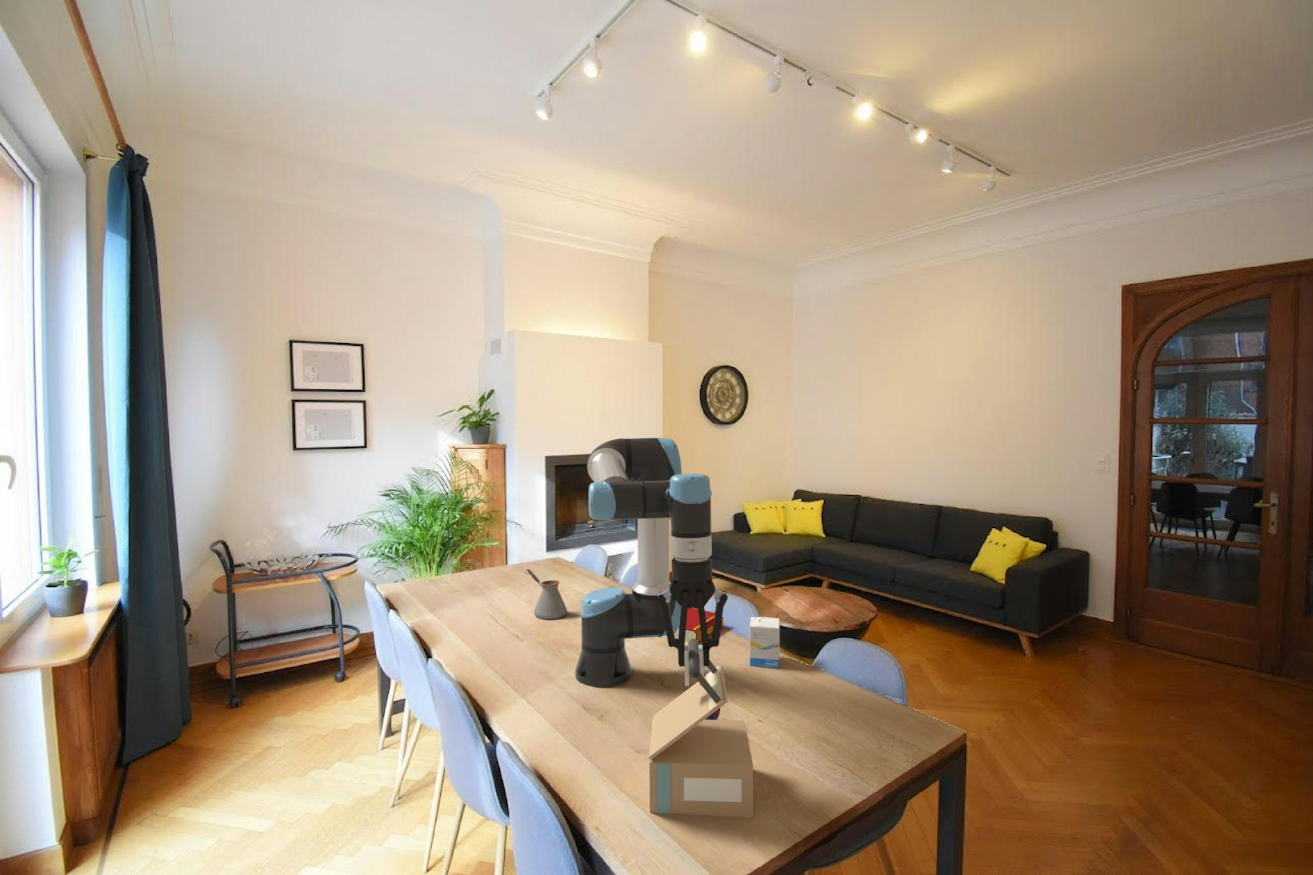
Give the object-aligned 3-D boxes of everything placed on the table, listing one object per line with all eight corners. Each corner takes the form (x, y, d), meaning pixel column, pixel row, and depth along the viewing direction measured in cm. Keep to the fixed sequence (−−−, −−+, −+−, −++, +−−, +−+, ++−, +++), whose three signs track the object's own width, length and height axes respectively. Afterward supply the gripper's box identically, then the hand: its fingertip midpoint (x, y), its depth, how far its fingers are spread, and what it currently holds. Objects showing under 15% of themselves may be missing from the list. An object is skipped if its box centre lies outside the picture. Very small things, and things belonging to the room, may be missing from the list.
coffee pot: (573, 618, 205) (573, 576, 205) (545, 627, 197) (544, 583, 197) (540, 605, 221) (540, 565, 220) (513, 612, 213) (513, 571, 212)
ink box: (779, 669, 163) (779, 627, 163) (749, 666, 165) (749, 625, 165) (779, 656, 172) (779, 617, 171) (750, 654, 173) (750, 615, 173)
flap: (650, 760, 102) (620, 722, 102) (655, 718, 117) (628, 685, 117) (727, 701, 101) (697, 664, 101) (722, 666, 116) (696, 633, 116)
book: (697, 646, 180) (697, 630, 180) (662, 638, 187) (662, 623, 187) (723, 628, 196) (723, 614, 195) (690, 621, 202) (690, 607, 202)
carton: (649, 819, 102) (649, 763, 102) (654, 767, 117) (654, 718, 117) (753, 822, 101) (753, 765, 101) (744, 769, 116) (744, 720, 116)
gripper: (650, 562, 105) (652, 692, 105) (734, 561, 104) (736, 692, 105) (652, 553, 112) (654, 674, 113) (730, 552, 112) (733, 673, 112)
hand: (694, 682), depth 109 cm, fingers closed on flap, 2 cm apart
